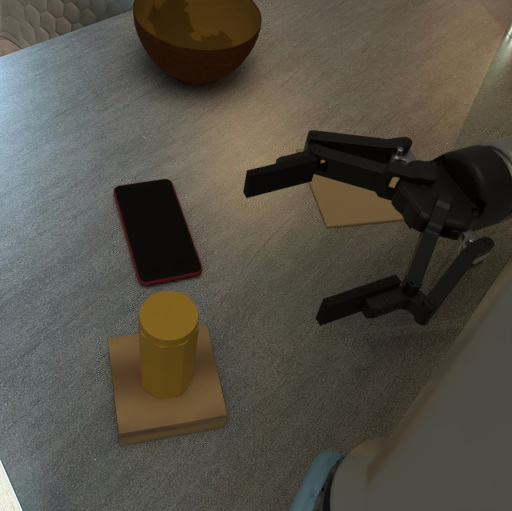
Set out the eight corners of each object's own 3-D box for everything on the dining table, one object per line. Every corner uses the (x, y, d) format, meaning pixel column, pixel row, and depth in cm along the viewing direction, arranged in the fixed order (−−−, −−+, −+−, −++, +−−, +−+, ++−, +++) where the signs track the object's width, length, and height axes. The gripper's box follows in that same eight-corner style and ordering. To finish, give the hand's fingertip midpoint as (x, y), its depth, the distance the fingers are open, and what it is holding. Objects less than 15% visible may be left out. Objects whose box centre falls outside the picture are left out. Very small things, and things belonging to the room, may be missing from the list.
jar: (195, 394, 59) (203, 335, 51) (144, 402, 58) (143, 344, 50) (186, 349, 62) (192, 287, 54) (137, 356, 61) (135, 294, 52)
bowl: (250, 117, 89) (260, 57, 81) (125, 102, 88) (123, 40, 80) (253, 45, 100) (262, -14, 92) (142, 30, 98) (141, -31, 91)
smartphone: (139, 284, 68) (111, 185, 76) (139, 289, 69) (112, 191, 77) (204, 271, 71) (170, 177, 79) (203, 276, 71) (170, 182, 79)
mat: (426, 218, 82) (427, 216, 82) (326, 228, 79) (327, 226, 78) (388, 144, 90) (389, 142, 90) (296, 150, 86) (296, 148, 86)
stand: (224, 427, 61) (233, 391, 55) (120, 446, 59) (116, 411, 52) (204, 338, 67) (210, 297, 60) (109, 352, 64) (104, 310, 58)
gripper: (555, 315, 54) (346, 400, 47) (401, 126, 67) (217, 169, 59) (604, 264, 48) (374, 352, 41) (425, 67, 61) (224, 107, 53)
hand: (280, 244), depth 50 cm, fingers open, 13 cm apart
